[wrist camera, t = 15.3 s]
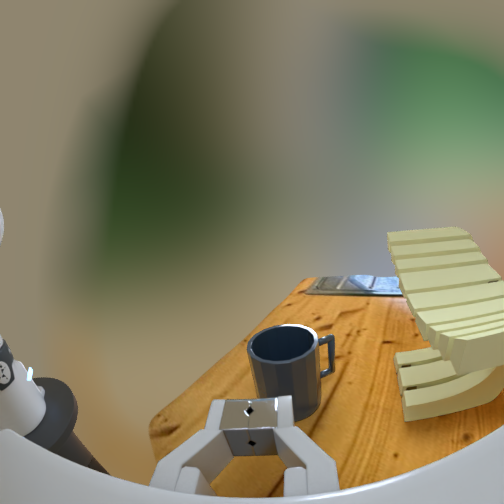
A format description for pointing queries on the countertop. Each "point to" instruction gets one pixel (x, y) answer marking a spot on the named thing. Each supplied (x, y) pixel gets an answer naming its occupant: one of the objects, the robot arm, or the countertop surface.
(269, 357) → the mug
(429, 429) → the countertop surface
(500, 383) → the slatted lounge chair
